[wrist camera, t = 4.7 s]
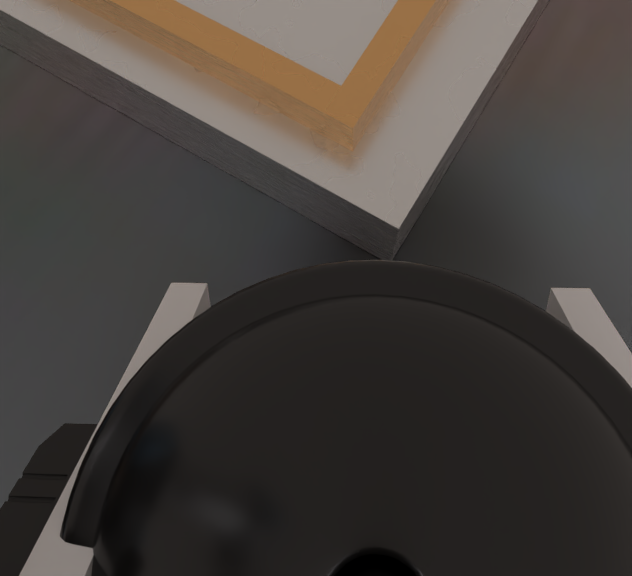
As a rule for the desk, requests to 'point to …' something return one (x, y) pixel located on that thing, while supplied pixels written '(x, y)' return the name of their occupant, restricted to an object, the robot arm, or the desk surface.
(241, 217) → the desk surface
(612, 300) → the desk surface
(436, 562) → the drinking cup
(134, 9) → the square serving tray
